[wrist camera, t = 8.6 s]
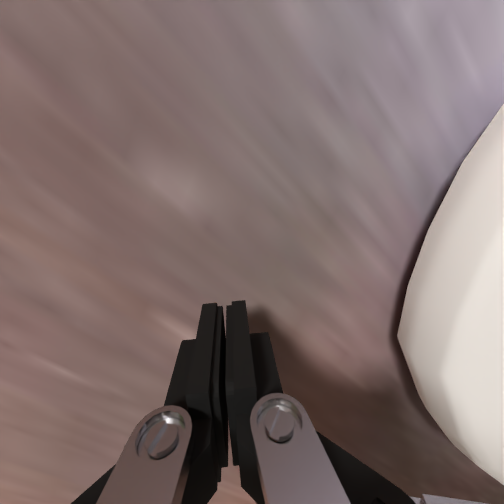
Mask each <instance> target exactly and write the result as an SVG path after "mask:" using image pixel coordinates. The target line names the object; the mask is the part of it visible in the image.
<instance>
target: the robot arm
mask: <svg viewBox="0 0 504 504" xmlns="http://www.w3.org/2000/svg"><path fill="white" fill-rule="evenodd" d="M228 419H229V428H230V438H231V447H232V456H233V465H234V466H236V465H239V467H240V478H241V487H242V488H243V489H244V490H245V491H246V492H247V493H248V494H249V495H250V496H251V497H252V498H253V499H254V500H255V501H256V504H487V503H480V502H474V501H467V500H461V499H454V498H448V497H441V496H435V495H428V494H422V497H421V498H416V497H409V496H408V495H407V494H406V493H404V492H403V491H402V490H401V489H400V488H398V487H397V486H395V485H394V484H392V483H391V482H390V481H388V480H387V479H385V478H384V477H382V476H381V475H379V474H378V473H377V472H375V471H374V470H372V469H371V468H369V467H368V466H366V465H365V464H363V463H362V462H361V461H359V460H358V459H356V458H355V457H353V456H352V455H350V454H349V453H348V452H346V451H345V450H343V449H342V448H340V447H339V446H337V445H336V444H335V443H333V442H332V441H330V440H329V439H327V438H326V437H324V436H323V435H321V434H320V433H319V432H317V431H316V430H315V429H314V426H313V424H312V422H311V420H310V418H309V416H308V414H307V412H306V410H305V409H304V407H303V406H302V404H301V403H300V402H298V401H297V400H296V399H295V398H293V397H291V396H289V395H287V394H283V391H282V387H281V383H280V379H279V375H278V371H277V367H276V363H275V358H274V354H273V350H272V346H271V342H270V338H269V334H268V332H264V333H254V334H249V326H248V318H247V311H246V303H245V300H244V301H233V302H232V305H229V306H227V310H226V336H225V326H224V316H223V307H222V306H217V303H210V304H203V305H202V310H201V315H200V321H199V326H198V331H197V336H196V339H192V340H183V341H182V342H181V345H180V349H179V353H178V356H177V360H176V364H175V367H174V371H173V374H172V378H171V382H170V385H169V389H168V393H167V396H166V400H165V404H164V406H163V407H161V408H158V409H155V410H154V411H152V412H151V413H149V414H148V415H146V416H145V417H144V418H143V419H142V420H141V421H140V422H139V423H138V424H137V426H136V427H135V429H134V430H133V432H132V434H131V436H130V437H129V439H128V441H127V443H126V445H125V447H124V449H123V451H122V453H121V455H120V457H119V459H118V461H117V463H116V464H115V465H114V466H113V467H112V468H111V469H110V470H109V471H107V472H106V473H105V474H104V475H103V476H102V477H101V478H99V479H98V480H97V481H96V482H95V483H94V484H93V485H92V486H90V487H89V488H88V489H87V490H86V491H85V492H84V493H82V494H81V495H80V496H79V497H78V498H77V499H76V500H75V501H73V502H72V503H71V504H207V503H208V502H209V500H210V499H211V498H212V496H213V495H214V493H215V492H216V491H217V482H221V468H222V467H228Z"/></svg>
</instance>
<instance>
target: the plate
mask: <svg viewBox="0 0 504 504" xmlns="http://www.w3.org/2000/svg"><path fill="white" fill-rule="evenodd" d="M397 337H398V340H399V343H400V346H401V348H402V351H403V354H404V356H405V359H406V362H407V365H408V367H409V370H410V373H411V375H412V378H413V381H414V384H415V386H416V389H417V392H418V394H419V396H420V398H421V400H422V402H423V404H424V406H425V408H426V409H427V410H428V412H429V413H430V415H431V416H432V417H433V419H434V420H435V421H436V423H437V424H438V425H439V427H440V428H441V430H442V431H443V432H444V434H445V435H446V436H447V437H448V439H449V440H450V441H451V442H452V443H453V445H454V446H455V447H456V448H457V449H459V450H460V451H461V452H462V453H463V454H464V455H466V456H467V457H468V458H469V459H470V460H471V461H472V462H474V463H475V464H476V465H477V466H478V467H480V468H481V469H482V470H484V471H485V472H486V473H488V474H489V475H491V476H492V477H493V478H495V479H496V480H497V481H499V482H500V483H501V484H503V485H504V104H503V105H502V107H501V108H500V110H499V111H498V113H497V114H496V115H495V117H494V118H493V120H492V121H491V122H490V124H489V125H488V127H487V128H486V130H485V131H484V132H483V134H482V135H481V137H480V138H479V140H478V141H477V142H476V144H475V145H474V147H473V148H472V149H471V151H470V152H469V154H468V155H467V157H466V158H465V159H464V161H463V162H462V164H461V166H460V168H459V170H458V172H457V174H456V176H455V178H454V180H453V182H452V184H451V186H450V188H449V190H448V192H447V194H446V196H445V198H444V200H443V202H442V204H441V206H440V208H439V210H438V211H437V213H436V215H435V217H434V219H433V221H432V223H431V225H430V227H429V229H428V232H427V234H426V237H425V240H424V243H423V245H422V248H421V251H420V254H419V256H418V259H417V262H416V265H415V267H414V270H413V273H412V275H411V278H410V281H409V284H408V287H407V292H406V297H405V301H404V306H403V311H402V315H401V320H400V325H399V329H398V334H397Z"/></svg>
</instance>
